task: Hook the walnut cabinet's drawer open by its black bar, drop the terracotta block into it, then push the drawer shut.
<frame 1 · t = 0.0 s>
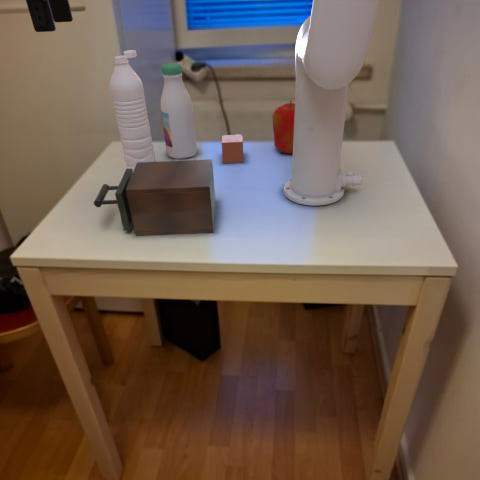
hand: (55, 26, 72), 31 cm above the table, tool pointing down, fingers open, 9 cm apart
apple: (288, 151, 110), on the table
water bottle: (146, 180, 100), on the table
milk bottle: (182, 154, 111), on the table
cabinet: (177, 218, 86), on the table
block: (233, 159, 107), on the table
drawer: (147, 197, 83), point 5 cm above the table, slide at 1.0 cm
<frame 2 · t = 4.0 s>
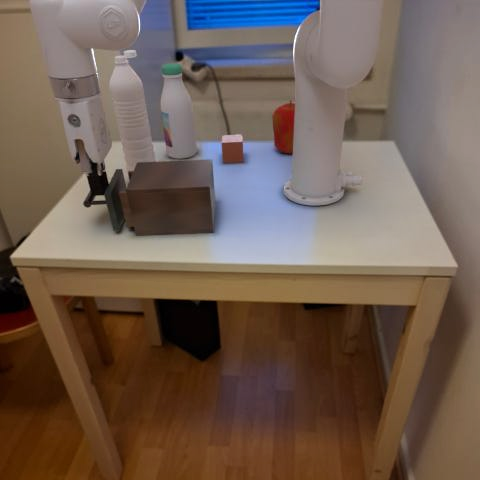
hand: (101, 193, 82), 6 cm above the table, tool pointing down, fingers closed
drawer: (137, 198, 83), point 5 cm above the table, slide at 3.0 cm, touching gripper
everything else where it was.
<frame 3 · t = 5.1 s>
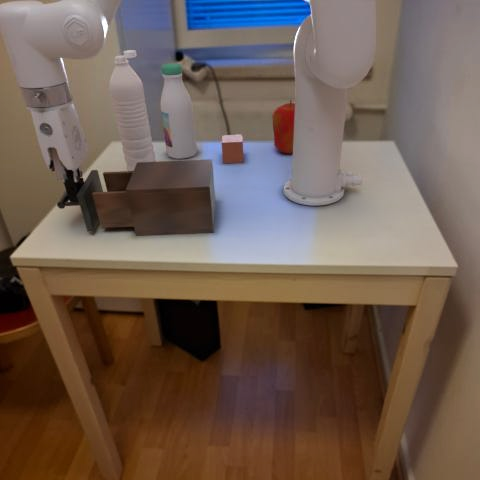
hand: (79, 199, 83), 5 cm above the table, tool pointing down, fingers closed
drawer: (111, 199, 83), point 5 cm above the table, slide at 7.8 cm, touching gripper
everything else where it was.
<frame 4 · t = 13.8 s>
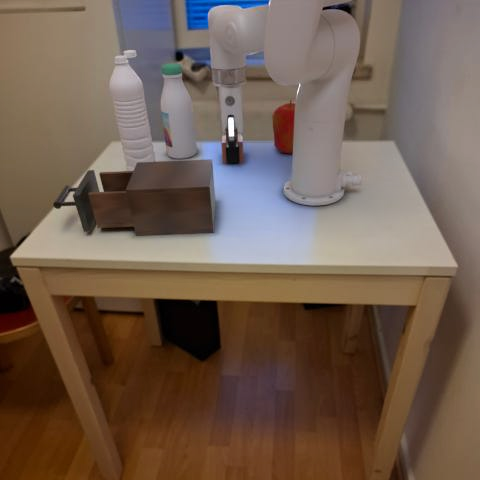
hand: (233, 157, 107), 0 cm above the table, tool pointing down, fingers closed on block, 5 cm apart
block: (233, 159, 107), on the table, touching gripper
drawer: (108, 199, 83), point 5 cm above the table, slide at 8.5 cm
everything else where it was.
when the fingers open (7 cm above the table, at t = 23.5 s): block stays where it is, resting on drawer.
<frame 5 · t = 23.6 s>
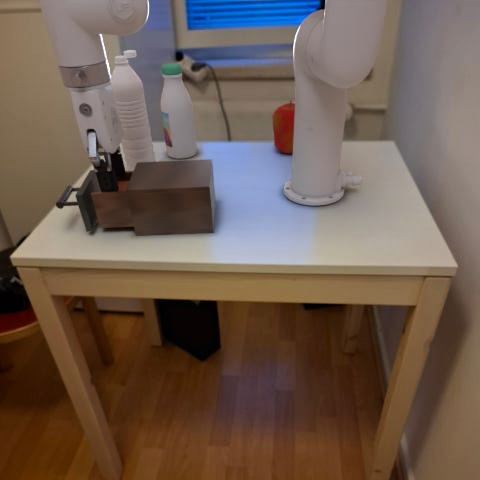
hand: (113, 182, 81), 8 cm above the table, tool pointing down, fingers open, 6 cm apart
block: (120, 211, 85), point 2 cm above the table, touching drawer
drawer: (110, 199, 83), point 5 cm above the table, slide at 8.1 cm, touching block, gripper
everything else where it was.
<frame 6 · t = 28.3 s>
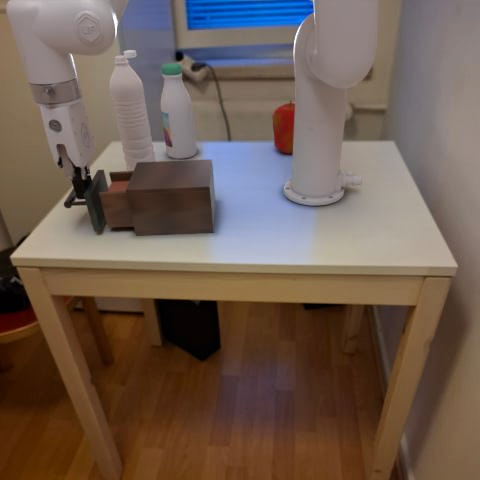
hand: (86, 197, 83), 5 cm above the table, tool pointing down, fingers closed
block: (127, 211, 85), point 2 cm above the table, touching drawer
drawer: (118, 199, 83), point 5 cm above the table, slide at 6.6 cm, touching block
everything else where it was.
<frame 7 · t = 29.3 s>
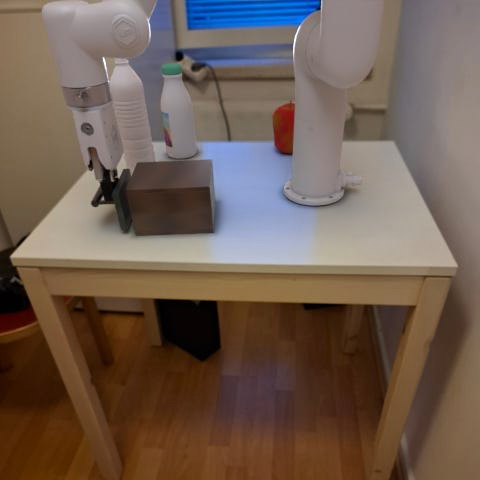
hand: (113, 199, 83), 5 cm above the table, tool pointing down, fingers closed
block: (153, 210, 85), point 2 cm above the table, touching drawer
drawer: (144, 198, 83), point 5 cm above the table, slide at 1.5 cm, touching block, gripper
everything else where it was.
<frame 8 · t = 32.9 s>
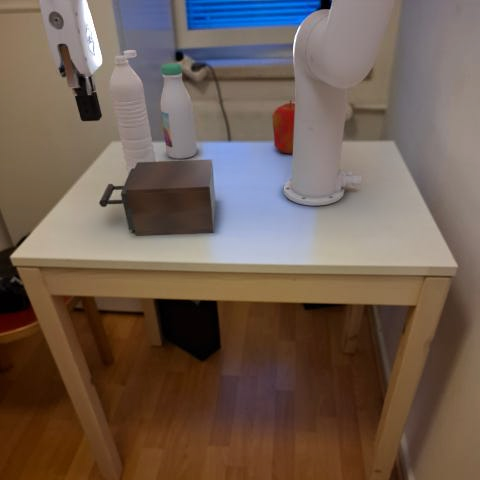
hand: (91, 119, 73), 19 cm above the table, tool pointing down, fingers closed
block: (161, 209, 85), point 2 cm above the table, touching drawer
drawer: (152, 197, 83), point 5 cm above the table, slide at 0.0 cm, touching block
everything else where it was.
at the end: drawer pulled out 8.6 cm at the most during the clip, back to where it started at the end; block inside the target area in the cabinet (2.9 cm from its centre), point 2.0 cm above the cabinet's base; drawer slide at 0.0 cm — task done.
